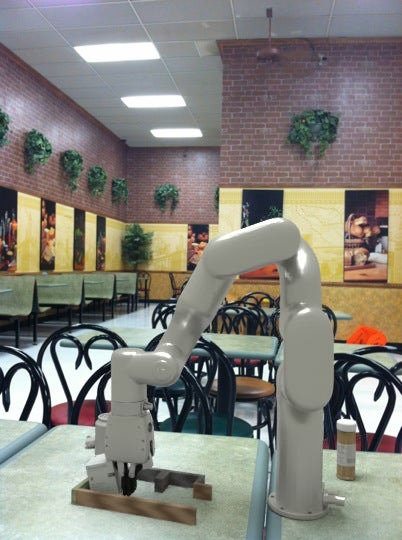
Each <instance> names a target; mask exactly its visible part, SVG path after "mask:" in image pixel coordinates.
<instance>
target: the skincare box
mask: <svg viewBox="0 0 402 540" xmlns="http://www.w3.org/2000/svg"><path fill="white" fill-rule="evenodd" d="M105 459H106V457H105V454H100V455H95V454H94V455H92V457H90V459H89V461H88V462H87V463H86V465H85V470H86V475H87V476H86V477H88V480H89V485H90V490H93V491H99V492H105V493H111V494H117V495H120V493H121V491H122V489H121V476H119V473H118V471H117V470H116V468H115V467H114V462H113V461H111V460H108V459H106V460H105Z"/></svg>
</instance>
